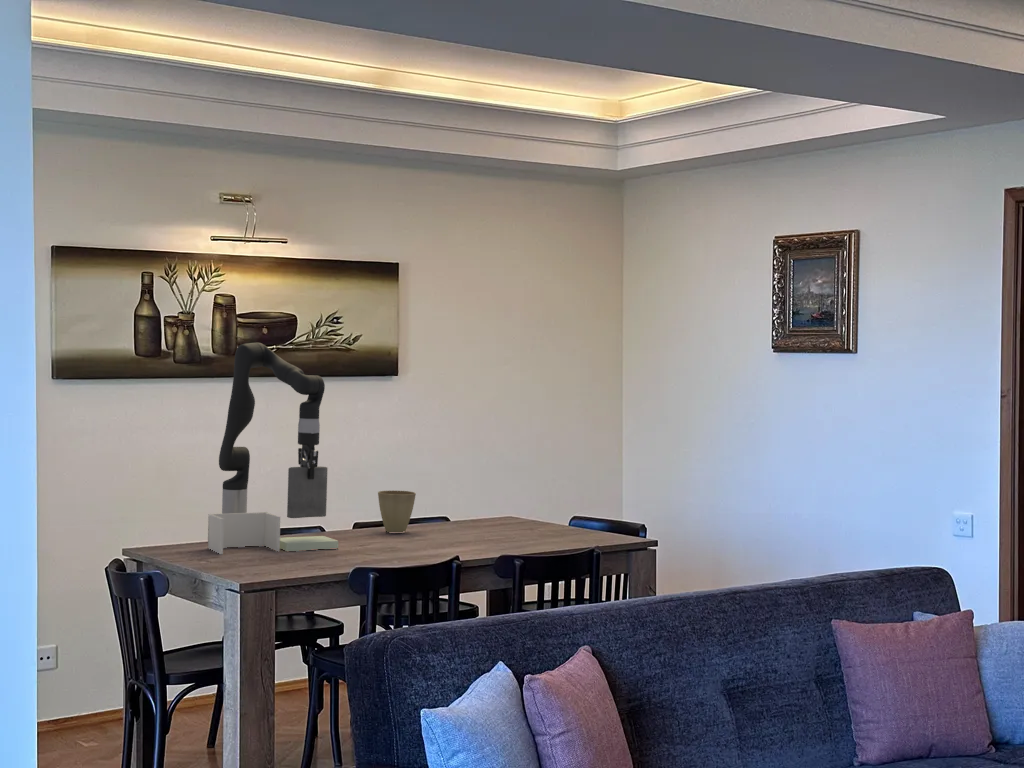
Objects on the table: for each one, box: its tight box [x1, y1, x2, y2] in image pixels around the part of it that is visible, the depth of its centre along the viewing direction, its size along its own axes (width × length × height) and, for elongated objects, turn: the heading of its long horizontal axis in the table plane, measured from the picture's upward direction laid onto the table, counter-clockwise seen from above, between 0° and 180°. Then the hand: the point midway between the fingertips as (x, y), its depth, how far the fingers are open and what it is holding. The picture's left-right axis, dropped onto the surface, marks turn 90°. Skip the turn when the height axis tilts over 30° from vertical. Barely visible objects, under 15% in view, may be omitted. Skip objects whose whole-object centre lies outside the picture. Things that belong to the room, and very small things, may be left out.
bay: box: [207, 511, 281, 555], centre depth 428 cm, size 14×21×12 cm
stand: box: [280, 535, 339, 552], centre depth 437 cm, size 14×19×3 cm
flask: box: [286, 460, 328, 519], centre depth 437 cm, size 15×6×20 cm, turn 129°
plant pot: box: [377, 490, 417, 533], centre depth 485 cm, size 15×15×16 cm
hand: (307, 478), depth 437 cm, fingers closed on flask, 6 cm apart
